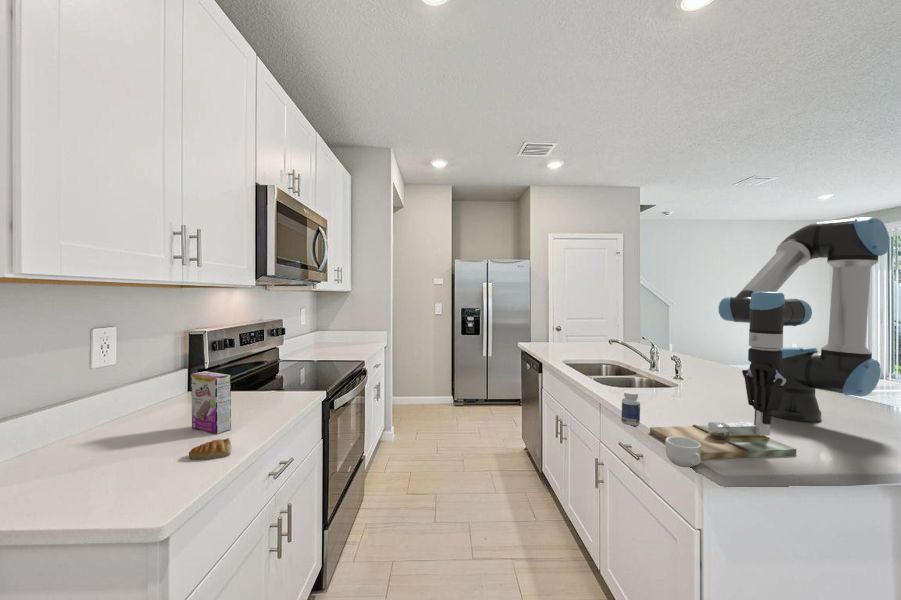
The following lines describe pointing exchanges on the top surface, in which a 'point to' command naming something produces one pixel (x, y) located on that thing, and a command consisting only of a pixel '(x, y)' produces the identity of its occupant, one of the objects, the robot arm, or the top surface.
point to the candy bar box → (211, 402)
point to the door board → (726, 443)
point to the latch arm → (732, 428)
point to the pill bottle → (630, 409)
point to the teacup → (683, 451)
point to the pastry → (212, 450)
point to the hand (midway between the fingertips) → (762, 434)
